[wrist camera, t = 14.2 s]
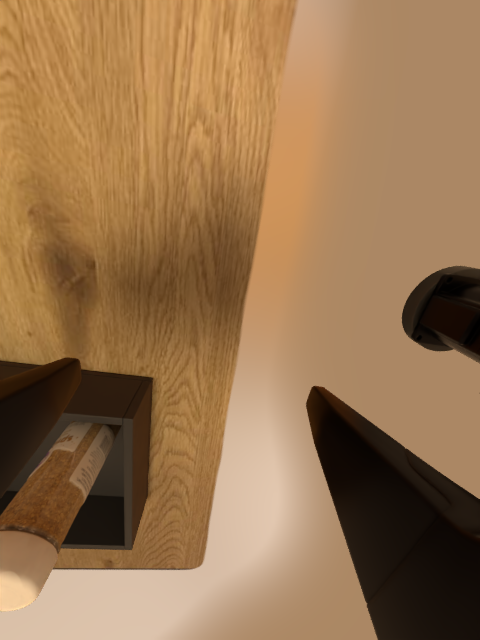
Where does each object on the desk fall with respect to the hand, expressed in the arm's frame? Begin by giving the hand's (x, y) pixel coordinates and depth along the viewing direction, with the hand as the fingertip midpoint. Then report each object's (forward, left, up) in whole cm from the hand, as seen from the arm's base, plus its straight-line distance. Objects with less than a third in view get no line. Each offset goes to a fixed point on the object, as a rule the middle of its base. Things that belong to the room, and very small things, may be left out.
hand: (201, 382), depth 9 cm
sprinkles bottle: (+9, +14, -13) cm, 21 cm away
